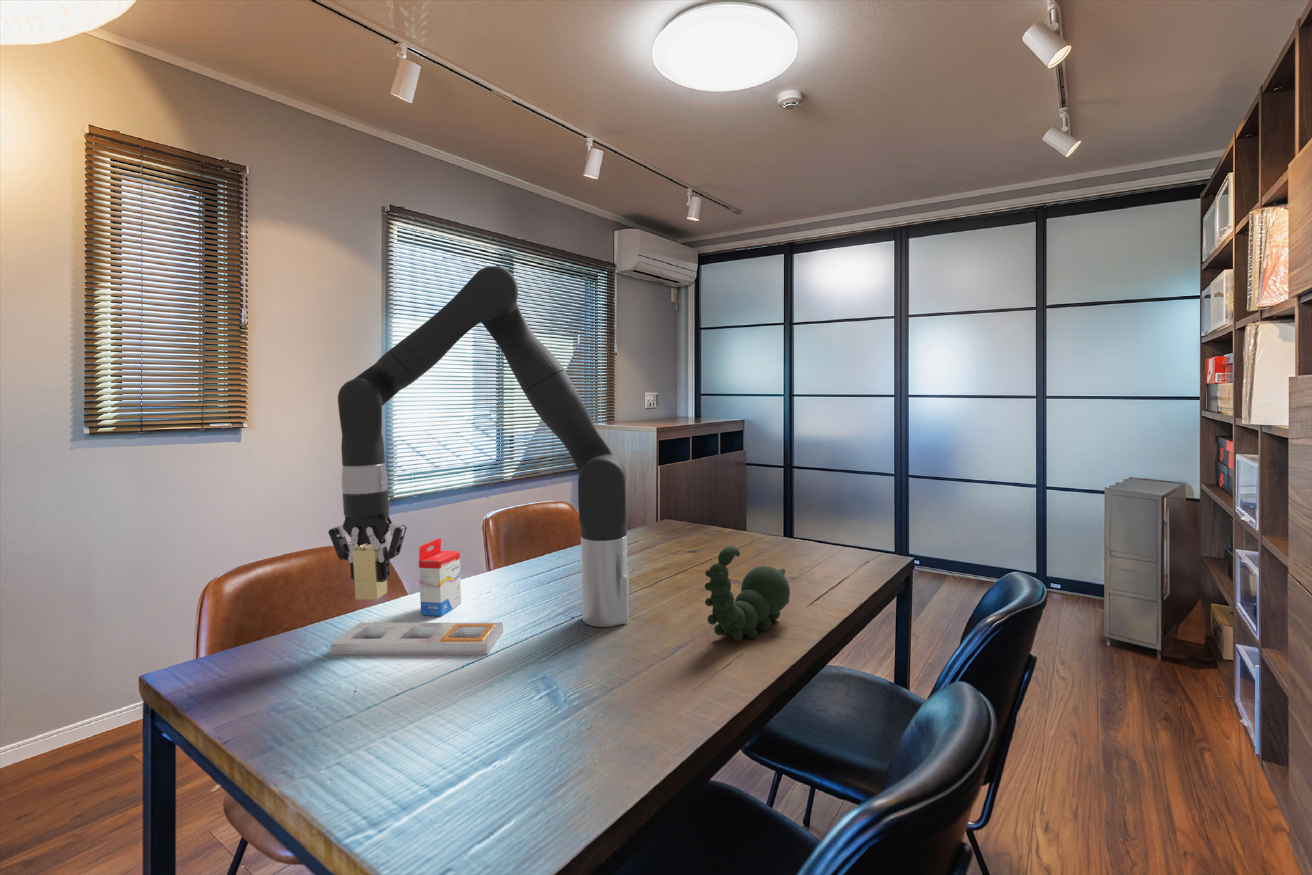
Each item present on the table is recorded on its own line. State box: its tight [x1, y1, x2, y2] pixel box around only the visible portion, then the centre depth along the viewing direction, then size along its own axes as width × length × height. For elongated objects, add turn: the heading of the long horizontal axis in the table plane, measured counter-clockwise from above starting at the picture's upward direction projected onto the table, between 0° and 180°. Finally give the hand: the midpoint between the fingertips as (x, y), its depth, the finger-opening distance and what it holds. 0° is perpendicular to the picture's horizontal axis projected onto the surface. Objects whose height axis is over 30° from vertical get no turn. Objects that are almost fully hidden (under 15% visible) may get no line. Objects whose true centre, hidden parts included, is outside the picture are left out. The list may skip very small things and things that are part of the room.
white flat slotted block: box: [330, 622, 504, 656], centre depth 114 cm, size 28×10×2 cm, turn 88°
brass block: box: [353, 544, 388, 600], centre depth 113 cm, size 4×4×9 cm
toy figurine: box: [704, 545, 791, 641], centre depth 118 cm, size 9×19×25 cm
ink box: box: [418, 537, 462, 617], centre depth 131 cm, size 8×5×15 cm, turn 168°
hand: (370, 580), depth 113 cm, fingers closed on brass block, 4 cm apart
